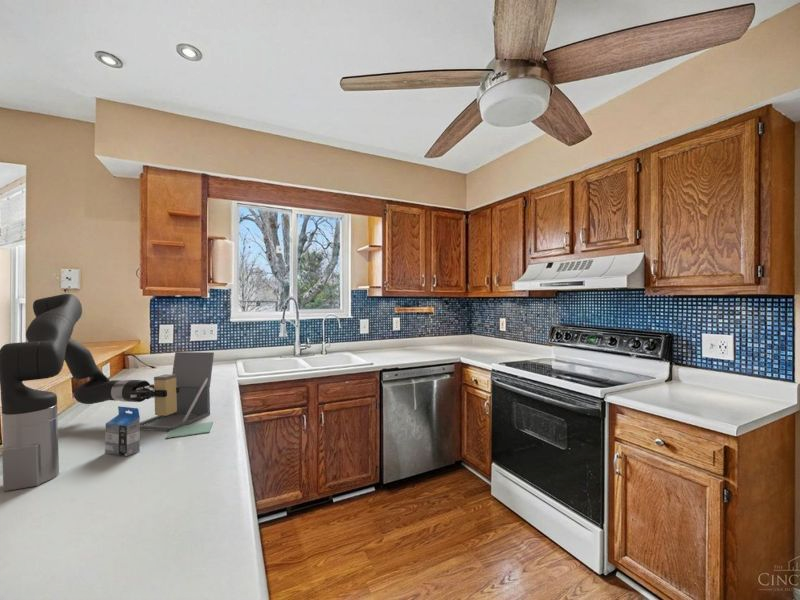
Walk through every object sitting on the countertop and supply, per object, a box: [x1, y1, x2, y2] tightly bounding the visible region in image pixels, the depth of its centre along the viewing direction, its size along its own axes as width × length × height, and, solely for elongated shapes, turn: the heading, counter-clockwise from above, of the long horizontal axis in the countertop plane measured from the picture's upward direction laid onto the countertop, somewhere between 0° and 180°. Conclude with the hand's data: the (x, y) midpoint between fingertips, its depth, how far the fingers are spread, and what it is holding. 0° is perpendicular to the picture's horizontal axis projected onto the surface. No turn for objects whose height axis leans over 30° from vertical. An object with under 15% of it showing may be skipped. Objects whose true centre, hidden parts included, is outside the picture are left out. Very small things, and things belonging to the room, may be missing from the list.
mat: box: [165, 421, 214, 439], centre depth 116 cm, size 10×12×1 cm
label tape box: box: [104, 405, 141, 457], centre depth 100 cm, size 9×4×12 cm, turn 72°
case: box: [140, 351, 215, 431], centre depth 127 cm, size 20×16×23 cm
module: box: [153, 373, 177, 417], centre depth 122 cm, size 5×5×13 cm
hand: (172, 391), depth 122 cm, fingers closed on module, 4 cm apart
